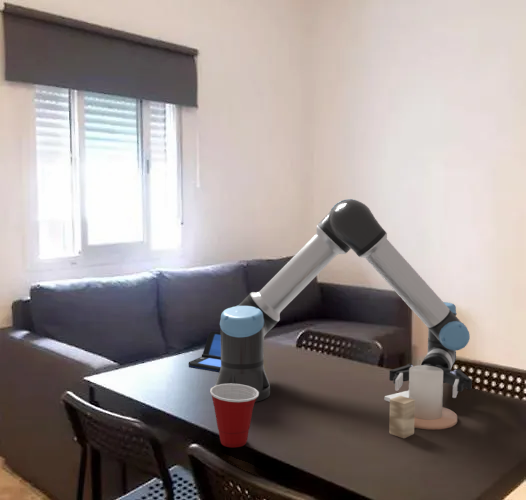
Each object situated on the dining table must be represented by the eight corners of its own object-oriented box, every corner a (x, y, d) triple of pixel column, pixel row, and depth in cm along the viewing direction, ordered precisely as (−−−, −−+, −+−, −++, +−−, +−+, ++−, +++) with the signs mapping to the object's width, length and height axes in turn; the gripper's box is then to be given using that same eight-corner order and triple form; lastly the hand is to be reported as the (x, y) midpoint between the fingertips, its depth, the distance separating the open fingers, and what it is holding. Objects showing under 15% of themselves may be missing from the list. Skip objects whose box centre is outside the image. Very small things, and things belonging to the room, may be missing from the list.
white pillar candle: (401, 410, 154) (402, 367, 153) (428, 406, 157) (429, 364, 156) (421, 421, 147) (422, 376, 146) (449, 417, 150) (450, 372, 149)
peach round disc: (381, 412, 156) (382, 408, 156) (431, 404, 162) (431, 400, 162) (418, 433, 143) (418, 429, 142) (470, 424, 148) (470, 419, 148)
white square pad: (384, 399, 165) (384, 396, 165) (411, 393, 171) (411, 389, 171) (412, 411, 157) (412, 407, 157) (439, 403, 162) (439, 399, 162)
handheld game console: (186, 367, 198) (186, 338, 197) (210, 357, 209) (209, 330, 208) (228, 374, 190) (227, 344, 189) (250, 363, 202) (250, 335, 201)
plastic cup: (253, 454, 131) (253, 399, 130) (204, 450, 134) (203, 396, 132) (263, 435, 142) (263, 383, 141) (217, 431, 144) (217, 380, 143)
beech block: (389, 433, 143) (389, 399, 142) (399, 428, 145) (400, 395, 145) (403, 438, 140) (404, 403, 139) (414, 433, 142) (414, 399, 142)
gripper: (484, 384, 165) (479, 410, 145) (390, 374, 175) (373, 397, 155) (485, 357, 164) (480, 379, 145) (390, 348, 174) (373, 368, 154)
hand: (424, 388), depth 150 cm, fingers open, 13 cm apart
